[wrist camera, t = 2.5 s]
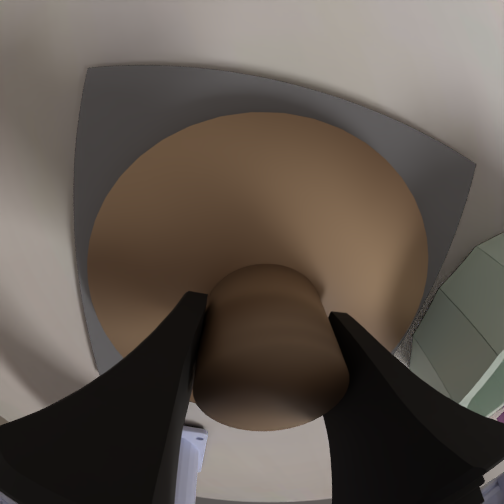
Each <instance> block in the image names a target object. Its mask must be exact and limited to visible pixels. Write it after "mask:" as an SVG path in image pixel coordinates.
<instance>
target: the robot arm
mask: <svg viewBox="0 0 504 504" xmlns="http://www.w3.org/2000/svg"><path fill="white" fill-rule="evenodd" d="M207 297H208V294H204V293H198V292H192V291H188V292H186V293H185V294H184V295H183V297H182V298H181V300H180V301H179V302H178V304H177V305H176V306H175V307H174V308H173V310H172V311H171V312H170V313H169V314H168V316H167V317H166V318H165V319H164V320H163V321H162V322H161V323H160V324H159V325H158V326H157V328H156V329H155V330H154V331H153V332H152V333H151V334H150V335H149V336H148V337H146V338H145V339H144V340H143V341H142V342H141V343H140V344H139V345H138V346H137V347H136V348H135V349H134V350H133V351H131V352H130V353H129V354H128V355H127V356H126V357H124V358H123V359H122V360H121V361H119V362H118V363H117V364H116V365H114V366H113V367H112V368H110V369H109V370H108V371H106V372H105V373H103V374H102V375H101V376H99V377H98V378H96V379H95V380H93V381H92V382H90V383H89V384H87V385H86V386H84V387H83V388H81V389H79V390H78V391H76V392H74V393H72V394H71V395H69V396H67V397H65V398H63V399H61V400H59V401H58V402H56V403H54V404H52V405H50V406H48V407H46V408H44V409H42V410H40V411H37V412H35V413H32V414H30V415H27V416H25V417H22V418H20V419H17V420H14V421H12V422H9V423H6V424H3V425H1V426H0V504H195V497H196V483H197V472H200V471H201V467H202V462H203V457H204V452H205V447H206V442H207V437H208V431H206V430H205V429H201V428H195V427H189V426H183V425H184V421H185V417H186V413H187V409H188V405H189V401H190V397H191V393H192V388H193V382H194V375H195V369H196V362H197V356H198V350H199V344H200V339H201V334H202V329H203V323H204V318H205V312H206V305H207ZM328 319H329V322H330V324H331V327H332V329H333V332H334V335H335V337H336V340H337V342H338V345H339V347H340V350H341V353H342V355H343V358H344V361H345V363H346V366H347V369H348V372H349V385H348V388H347V391H346V393H345V395H344V396H343V398H342V399H341V400H340V401H339V403H338V404H337V405H335V406H334V407H333V408H332V409H331V410H330V411H328V412H327V413H325V414H324V415H323V417H324V421H325V425H326V429H327V434H328V440H329V447H330V457H331V470H332V504H504V472H503V473H502V474H500V475H499V476H498V477H496V478H494V479H493V480H491V481H490V482H488V483H487V484H485V485H484V486H482V487H481V488H480V487H479V486H481V485H482V484H483V483H484V482H485V480H484V478H483V475H484V474H485V473H487V472H488V471H489V470H491V469H492V468H494V467H495V466H496V465H497V464H499V463H500V462H501V461H503V460H504V423H502V422H499V421H496V420H493V419H490V418H487V417H485V416H483V415H480V414H478V413H476V412H474V411H472V410H469V409H468V408H466V407H464V406H462V405H460V404H458V403H456V402H455V401H453V400H451V399H450V398H448V397H446V396H445V395H443V394H442V393H440V392H439V391H437V390H436V389H434V388H433V387H431V386H430V385H429V384H427V383H426V382H425V381H423V380H422V379H420V378H419V377H418V376H417V375H415V374H414V373H413V372H412V371H411V370H409V369H408V368H407V367H406V366H405V365H404V364H402V363H401V362H400V361H399V360H398V359H397V358H396V357H394V356H393V355H392V354H391V353H390V352H389V351H388V350H387V349H386V348H385V347H384V346H383V345H382V344H380V343H379V342H378V341H377V340H376V339H375V338H374V337H373V336H372V335H371V334H370V333H369V332H368V331H367V330H366V329H365V328H364V327H363V326H361V325H360V324H359V323H358V322H357V321H356V320H355V319H354V318H353V317H351V316H350V315H349V314H348V313H343V312H333V311H331V312H330V314H329V317H328Z"/></svg>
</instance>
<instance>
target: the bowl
mask: <svg viewBox="0 0 504 504" xmlns="http://www.w3.org/2000/svg"><path fill="white" fill-rule="evenodd" d="M409 368H410V370H411V371H412V372H413V373H414V374H415V375H417V376H418V377H419V378H420V379H422V380H423V381H425V382H426V383H427V384H429V385H430V386H431V387H433V388H434V389H436V390H437V391H439V392H440V393H442V394H443V395H445V396H446V397H448V398H450V399H451V400H453V401H455V402H456V403H458V404H460V405H462V406H464V407H466V408H468V409H469V410H472V411H474V412H476V413H478V414H480V415H483V416H485V417H487V418H488V417H490V416H491V415H492V414H494V413H495V412H496V411H498V410H499V409H500V408H502V407H503V406H504V232H503V233H501V234H500V235H498V236H496V237H494V238H492V239H490V240H488V241H486V242H484V243H482V244H480V245H478V246H477V247H475V248H474V250H473V251H472V252H471V253H470V254H469V256H468V257H467V258H466V259H465V260H464V262H463V263H462V264H461V265H460V266H459V267H458V268H457V269H456V271H455V272H454V273H453V274H452V275H451V276H450V277H449V278H448V279H447V280H446V282H445V283H444V284H443V285H442V286H441V287H440V289H438V291H437V293H436V295H435V297H434V299H433V301H432V303H431V305H430V307H429V309H428V310H427V312H426V314H425V316H424V318H423V319H422V321H421V323H420V325H419V326H418V328H417V330H416V331H415V333H414V335H413V340H412V350H411V358H410V365H409Z"/></svg>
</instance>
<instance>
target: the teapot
mask: <svg viewBox="0 0 504 504" xmlns="http://www.w3.org/2000/svg"><path fill="white" fill-rule="evenodd" d="M503 407H504V406H503ZM497 420H498V421H499V422H502V423H504V412H503V413H502V414H501V415H500V416H499V417H498V418H497Z"/></svg>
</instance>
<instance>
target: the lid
mask: <svg viewBox="0 0 504 504" xmlns="http://www.w3.org/2000/svg"><path fill="white" fill-rule="evenodd" d="M427 271H428V245H427V236H426V231H425V227H424V223H423V219H422V216H421V213H420V211H419V208H418V206H417V203H416V201H415V199H414V197H413V195H412V193H411V192H410V190H409V188H408V187H407V185H406V183H405V182H404V180H403V179H402V177H401V176H400V175H399V174H398V173H397V171H396V170H395V169H394V168H393V167H392V166H391V165H390V163H389V162H388V161H387V160H386V159H385V158H384V157H382V156H381V155H380V154H379V153H378V152H376V151H375V150H374V149H373V148H372V147H370V146H369V145H368V144H367V143H365V142H363V141H362V140H360V139H358V138H357V137H355V136H353V135H351V134H350V133H348V132H346V131H344V130H342V129H340V128H338V127H335V126H332V125H330V124H327V123H324V122H322V121H319V120H316V119H313V118H308V117H303V116H298V115H292V114H286V113H271V112H249V113H241V114H234V115H227V116H221V117H217V118H214V119H210V120H207V121H204V122H201V123H198V124H195V125H192V126H189V127H187V128H185V129H183V130H181V131H179V132H177V133H175V134H173V135H171V136H169V137H167V138H165V139H163V140H162V141H160V142H159V143H157V144H156V145H155V146H153V147H152V148H151V149H149V150H148V151H146V152H145V153H144V154H142V155H141V156H140V157H139V158H138V159H137V160H136V161H135V162H134V163H133V164H132V165H131V166H130V167H129V168H128V169H127V170H126V171H125V172H124V173H123V174H122V175H121V176H120V177H119V179H118V180H117V182H116V183H115V185H114V186H113V187H112V189H111V190H110V192H109V193H108V195H107V196H106V198H105V200H104V202H103V204H102V206H101V208H100V210H99V213H98V215H97V217H96V219H95V222H94V226H93V229H92V233H91V237H90V240H89V248H88V257H87V274H88V285H89V290H90V295H91V300H92V303H93V306H94V309H95V312H96V315H97V318H98V320H99V322H100V324H101V326H102V328H103V330H104V332H105V334H106V335H107V337H108V338H109V340H110V341H111V343H112V344H113V346H114V347H115V348H116V350H117V351H118V352H119V353H120V354H121V355H122V357H123V358H124V357H126V356H127V355H128V354H129V353H130V352H131V351H133V350H134V349H135V348H136V347H137V346H138V345H139V344H140V343H141V342H142V341H143V340H144V339H145V338H146V337H148V336H149V335H150V334H151V333H152V332H153V331H154V330H155V329H156V328H157V326H158V325H159V324H160V323H161V322H162V321H163V320H164V319H165V318H166V317H167V316H168V314H169V313H170V312H171V311H172V310H173V308H174V307H175V306H176V305H177V304H178V302H179V301H180V300H181V298H182V297H183V295H184V294H185V293H186V292H188V291H192V292H198V293H204V294H208V297H207V305H206V312H205V318H204V323H203V329H202V334H201V339H200V344H199V350H198V356H197V362H196V369H195V375H194V382H193V388H192V393H191V397H190V402H193V403H196V404H197V406H198V407H199V408H200V409H201V410H202V411H203V412H204V413H205V414H206V415H207V416H209V417H210V418H212V419H213V420H215V421H217V422H219V423H221V424H224V425H227V426H230V427H233V428H237V429H243V430H250V431H275V430H283V429H288V428H292V427H296V426H300V425H303V424H305V423H308V422H310V421H313V420H315V419H317V418H319V417H321V416H322V415H324V414H325V413H327V412H328V411H330V410H331V409H332V408H333V407H334V406H335V405H337V404H338V403H339V401H340V400H341V399H342V398H343V396H344V395H345V393H346V391H347V388H348V385H349V372H348V369H347V366H346V363H345V361H344V358H343V355H342V353H341V350H340V347H339V345H338V342H337V340H336V337H335V335H334V332H333V329H332V327H331V324H330V322H329V319H328V317H329V314H330V312H331V311H333V312H343V313H348V314H349V315H350V316H351V317H353V318H354V319H355V320H356V321H357V322H358V323H359V324H360V325H361V326H363V327H364V328H365V329H366V330H367V331H368V332H369V333H370V334H371V335H372V336H373V337H374V338H375V339H376V340H377V341H378V342H379V343H380V344H382V345H383V346H384V347H385V348H386V349H387V350H388V351H389V352H390V353H391V352H392V350H393V349H394V348H395V347H396V346H397V344H398V343H399V342H400V340H401V339H402V337H403V336H404V334H405V333H406V331H407V330H408V328H409V327H410V325H411V323H412V321H413V319H414V317H415V315H416V313H417V310H418V308H419V305H420V302H421V299H422V296H423V293H424V288H425V284H426V279H427Z"/></svg>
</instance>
